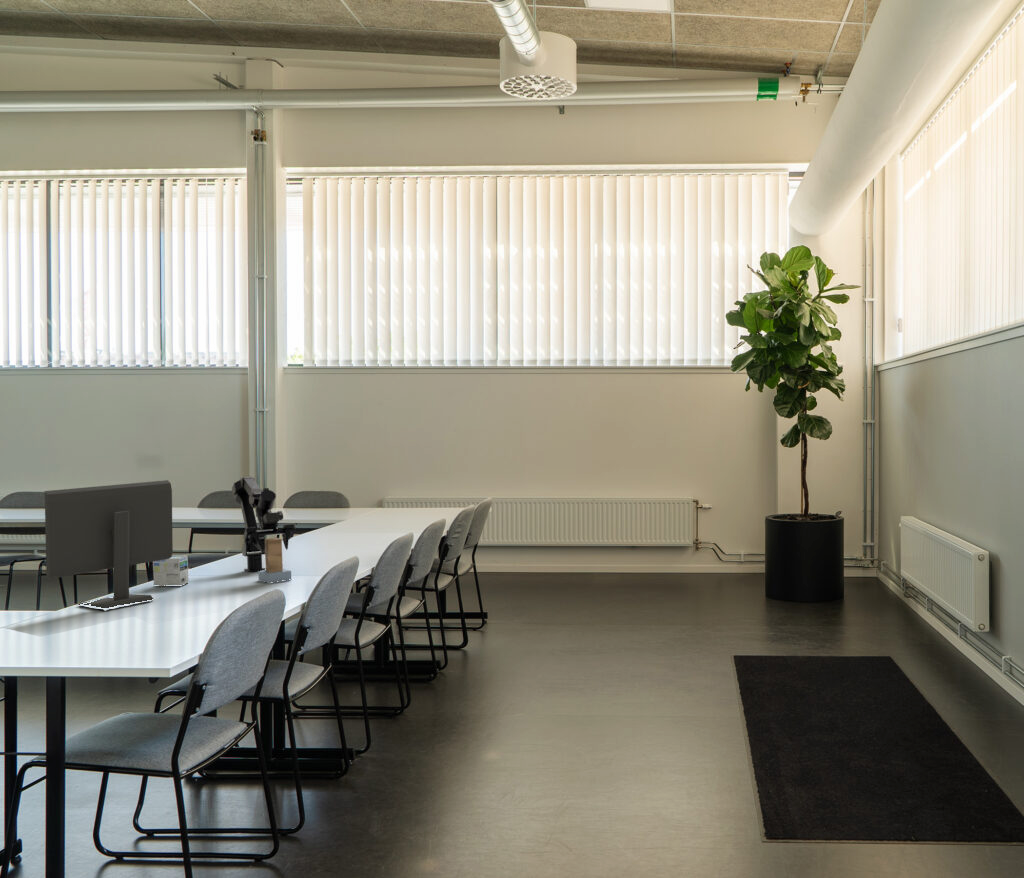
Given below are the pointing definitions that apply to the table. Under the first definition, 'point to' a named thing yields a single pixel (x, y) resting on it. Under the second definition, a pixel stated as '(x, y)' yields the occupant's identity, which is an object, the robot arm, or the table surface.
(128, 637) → the table surface
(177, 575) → the light bulb box
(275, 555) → the walnut pillar
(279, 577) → the slate-blue block
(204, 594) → the table surface
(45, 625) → the table surface
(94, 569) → the computer monitor
